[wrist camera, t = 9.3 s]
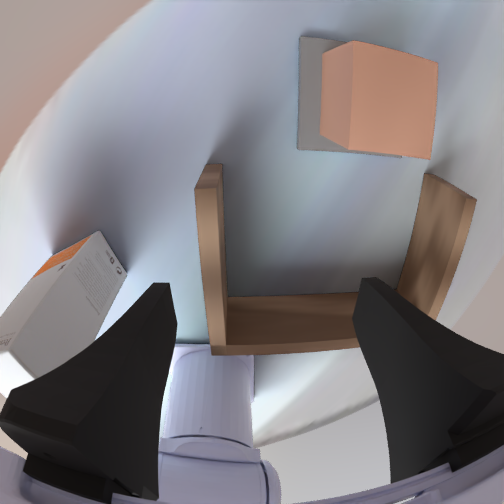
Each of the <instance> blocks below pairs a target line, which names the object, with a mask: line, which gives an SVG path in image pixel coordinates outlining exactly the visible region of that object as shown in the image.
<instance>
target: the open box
mask: <svg viewBox="0 0 504 504" xmlns="http://www.w3.org/2000/svg"><path fill="white" fill-rule="evenodd" d="M194 191H195V205H196V218H197V230H198V241H199V252H200V263H201V273H202V282H203V291H204V300H205V309H206V317H207V325H208V333H209V340H210V348H211V355H212V356H234V355H270V354H290V353H305V352H318V351H329V350H339V349H349V348H358V347H360V345H359V343H358V340H357V336H356V333H355V329H354V325H353V321H352V316H353V312H354V309H355V305H356V301H357V297H358V293H359V292H350V293H332V294H311V295H286V296H250V297H228V292H227V273H226V253H225V230H224V204H223V174H222V164H206V165H205V167H204V169H203V171H202V174H201V176H200V178H199V180H198V182H197V184H196V187H195V189H194ZM476 201H477V199H475V198H473V197H472V196H470V195H469V194H467V193H465V192H464V191H462V190H460V189H459V188H457V187H455V186H454V185H452V184H450V183H448V182H447V181H445V180H443V179H441V178H440V177H438V176H436V175H433V174H425V173H424V178H423V184H422V189H421V195H420V200H419V205H418V210H417V214H416V219H415V223H414V228H413V232H412V236H411V240H410V244H409V248H408V252H407V255H406V259H405V263H404V266H403V270H402V273H401V277H400V280H399V283H398V286H397V289H394V290H395V291H396V292H397V293H399V294H400V295H401V296H402V297H404V298H405V299H406V300H408V301H409V302H410V303H412V304H413V305H414V306H416V307H417V308H418V309H420V310H421V311H422V312H424V313H425V314H427V315H428V316H430V317H431V318H432V319H434V320H436V318H437V316H438V314H439V311H440V309H441V307H442V304H443V302H444V300H445V297H446V295H447V292H448V290H449V287H450V285H451V282H452V279H453V277H454V274H455V271H456V269H457V266H458V263H459V260H460V257H461V254H462V251H463V248H464V245H465V242H466V238H467V235H468V231H469V228H470V224H471V221H472V217H473V213H474V209H475V205H476Z"/></svg>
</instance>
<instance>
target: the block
mask: <svg viewBox="0 0 504 504" xmlns="http://www.w3.org/2000/svg"><path fill="white" fill-rule="evenodd" d="M437 84H438V63H437V62H434V61H431V60H428V59H425V58H422V57H419V56H415V55H412V54H409V53H405V52H402V51H398V50H394V49H390V48H386V47H382V46H378V45H374V44H369V43H365V42H360V41H354V40H353V41H350V42H348V43H345V44H343V45H341V46H338V47H336V48H334V49H332V50H329V51H327V52H325V53H323V54H322V91H321V116H320V135H322V136H324V137H326V138H328V139H329V140H331V141H333V142H335V143H337V144H339V145H341V146H343V147H344V148H346V149H348V150H358V151H368V152H377V153H386V154H394V155H401V156H409V157H415V158H422V159H428V160H430V158H431V151H432V143H433V135H434V126H435V115H436V102H437Z"/></svg>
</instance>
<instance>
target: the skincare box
mask: <svg viewBox="0 0 504 504" xmlns="http://www.w3.org/2000/svg"><path fill="white" fill-rule="evenodd" d="M126 277H127V273H126V272H125V270H124V268H123V267H122V265H121V264H120V262H119V261H118V259H117V258H116V256H115V254H114V253H113V251H112V250H111V248H110V246H109V245H108V243H107V241H106V240H105V238H104V236H103V234H102V233H101V231H96V232H95V233H93V234H91V235H90V236H88V237H86V238H84V239H82V240H81V241H79V242H77V243H75V244H73V245H72V246H70V247H68V248H66V249H64V250H62V251H60V252H58V253H56V254H54V255H52V256H51V257H50V258H49V259H48V260H47V261H46V262H45V264H44V265H43V266H42V267H41V268H40V269H39V270H38V271H37V272H36V274H35V275H34V276H33V277H32V278H31V279H30V281H29V282H28V283H27V284H26V285H25V287H24V288H23V289H22V290H21V291H20V293H19V294H18V295H17V296H16V298H15V299H14V300H13V301H12V303H11V304H10V305H9V306H8V308H7V309H6V310H5V312H4V313H3V314H2V316H1V317H0V392H1V393H2V394H3V395H4V396H5V397H6V398H7V397H8V395H9V393H10V391H11V389H14V388H16V387H19V386H21V385H23V384H26V383H28V382H30V381H32V380H35V379H37V378H39V377H41V376H43V375H45V374H46V373H48V372H50V371H52V370H54V369H55V368H57V367H59V366H60V365H62V364H64V363H65V362H67V361H68V360H69V359H71V358H72V357H74V356H75V355H77V354H78V353H80V352H81V351H83V350H84V349H85V348H87V347H88V346H89V345H90V344H92V343H93V342H94V341H95V338H96V336H97V334H98V332H99V330H100V328H101V326H102V324H103V322H104V319H105V317H106V316H107V314H108V311H109V310H110V308H111V306H112V304H113V302H114V300H115V298H116V296H117V294H118V292H119V290H120V288H121V286H122V284H123V283H124V281H125V279H126Z"/></svg>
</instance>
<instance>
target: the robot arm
mask: <svg viewBox="0 0 504 504" xmlns="http://www.w3.org/2000/svg"><path fill="white" fill-rule="evenodd" d="M352 321H353V325H354V329H355V333H356V336H357V340H358V343H359V345H360V348H361V350H362V353H363V355H364V358H365V360H366V363H367V365H368V368H369V370H370V373H371V375H372V378H373V380H374V383H375V386H376V389H377V392H378V395H379V399H380V403H381V407H382V412H383V416H384V422H385V427H386V433H387V440H388V448H389V455H390V456H389V457H390V471H391V484H388V485H385V486H381V487H378V488H374V489H370V490H367V491H362V492H358V493H354V494H349V495H345V496H340V497H335V498H329V499H323V500H317V501H310V502H304V503H294V504H393V503H397V502H399V501H403V500H405V499H408V498H411V497H414V496H415V498H414V499H411V500H409V501H407V502H404V503H402V504H502V503H503V502H504V354H501V353H499V352H496V351H493V350H491V349H488V348H485V347H483V346H481V345H478V344H476V343H474V342H472V341H470V340H468V339H466V338H464V337H462V336H460V335H458V334H456V333H455V332H453V331H451V330H450V329H448V328H446V327H445V326H443V325H441V324H440V323H438V322H437V321H435V320H434V319H432V318H431V317H430V316H428V315H427V314H425V313H424V312H422V311H421V310H420V309H418V308H417V307H416V306H414V305H413V304H412V303H410V302H409V301H408V300H406V299H405V298H404V297H402V296H401V295H400V294H399V293H397V292H396V291H395V290H393V289H392V288H391V287H389V286H388V285H387V284H385V283H384V282H383V281H381V280H380V279H378V278H376V277H372V278H362V281H361V285H360V289H359V293H358V297H357V301H356V305H355V309H354V312H353V316H352ZM176 332H177V320H176V315H175V310H174V305H173V300H172V294H171V289H170V284H169V283H153V284H152V285H151V286H150V287H149V288H148V289H147V290H146V291H145V292H144V293H143V294H142V295H141V297H140V298H139V299H138V300H137V301H136V302H135V303H134V304H133V305H132V306H131V307H130V308H129V309H128V310H127V311H126V312H125V313H124V314H123V316H122V317H121V318H119V319H118V320H117V321H116V322H115V323H114V324H113V325H112V326H111V327H110V328H109V329H108V330H107V331H106V332H105V333H104V334H102V335H101V336H100V337H99V338H98V339H97V340H95V341H94V342H93V343H92V344H90V345H89V346H88V347H87V348H85V349H84V350H83V351H81V352H80V353H78V354H77V355H75V356H74V357H72V358H71V359H69V360H68V361H67V362H65V363H64V364H62V365H60V366H59V367H57V368H55V369H54V370H52V371H50V372H48V373H46V374H45V375H43V376H41V377H39V378H37V379H35V380H32V381H30V382H28V383H26V384H23V385H21V386H19V387H16V388H14V389H11V391H10V393H9V395H8V397H7V400H6V402H5V404H4V406H3V409H2V411H1V413H0V427H1V429H2V430H3V431H4V432H5V433H6V434H7V435H8V436H9V437H10V438H11V439H12V440H13V441H14V442H16V443H17V444H18V445H19V446H20V447H21V448H23V449H24V450H25V451H26V452H27V453H28V456H27V459H26V460H25V459H24V458H22V457H21V456H19V455H17V454H15V453H13V452H11V451H8V450H6V449H4V448H2V447H1V446H0V504H281V486H280V480H279V476H278V474H277V471H276V470H275V468H274V467H273V466H272V465H271V464H270V463H269V461H267V460H261V459H260V449H255V448H253V436H252V415H251V403H252V402H253V399H254V355H234V356H212V355H211V348H210V344H175V341H176ZM169 371H170V375H171V378H172V380H171V386H170V392H169V398H168V404H167V411H166V417H165V424H164V431H163V438H162V437H161V438H160V442H159V430H160V418H161V407H162V401H163V395H164V391H165V386H166V382H167V378H168V374H169ZM158 448H159V449H158ZM416 495H417V496H416Z"/></svg>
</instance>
